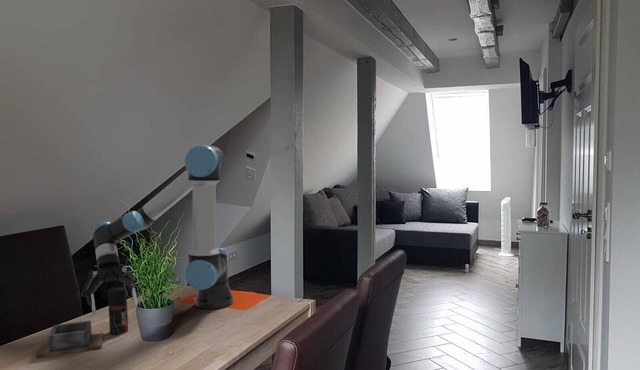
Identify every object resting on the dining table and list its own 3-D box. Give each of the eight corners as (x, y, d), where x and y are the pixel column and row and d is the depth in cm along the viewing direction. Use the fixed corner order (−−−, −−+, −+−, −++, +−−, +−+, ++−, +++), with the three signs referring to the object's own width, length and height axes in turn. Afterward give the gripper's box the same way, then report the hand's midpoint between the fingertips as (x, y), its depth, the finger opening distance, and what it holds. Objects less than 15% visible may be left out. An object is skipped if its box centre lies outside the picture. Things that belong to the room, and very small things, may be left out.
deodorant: (121, 335, 165) (119, 291, 164) (106, 334, 166) (104, 291, 166) (131, 329, 171) (129, 287, 170) (116, 328, 172) (114, 286, 171)
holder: (103, 335, 165) (102, 318, 165) (101, 348, 154) (100, 329, 154) (43, 344, 159) (41, 326, 158) (36, 358, 147) (35, 338, 147)
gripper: (141, 260, 189) (151, 308, 177) (69, 268, 176) (75, 321, 164) (143, 248, 184) (154, 297, 172) (70, 256, 171) (75, 309, 159)
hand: (115, 308), depth 168 cm, fingers open, 13 cm apart
